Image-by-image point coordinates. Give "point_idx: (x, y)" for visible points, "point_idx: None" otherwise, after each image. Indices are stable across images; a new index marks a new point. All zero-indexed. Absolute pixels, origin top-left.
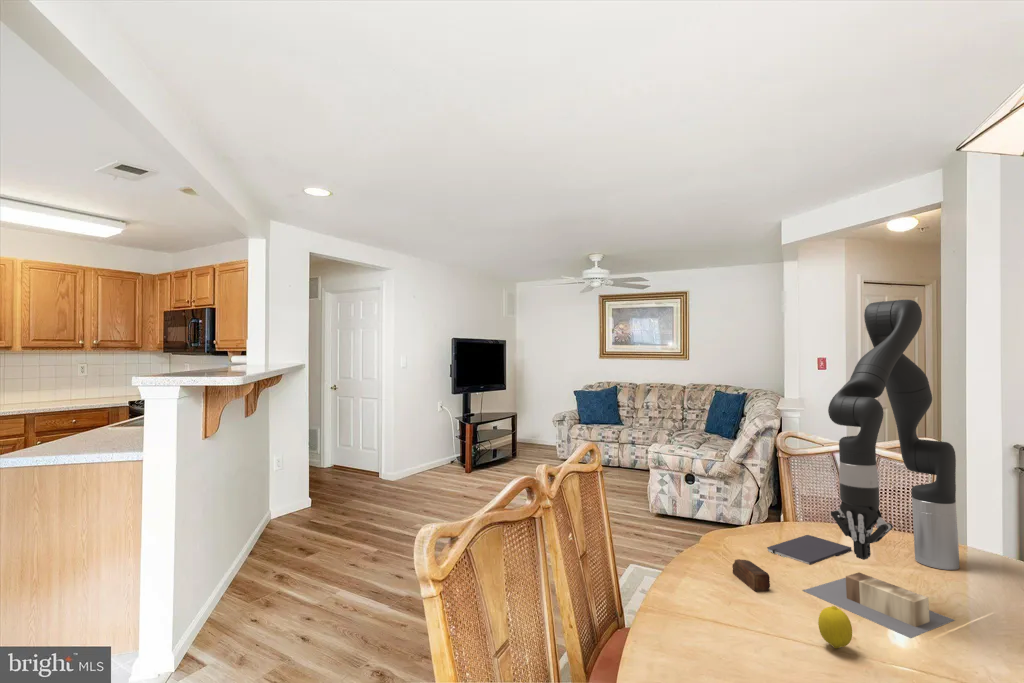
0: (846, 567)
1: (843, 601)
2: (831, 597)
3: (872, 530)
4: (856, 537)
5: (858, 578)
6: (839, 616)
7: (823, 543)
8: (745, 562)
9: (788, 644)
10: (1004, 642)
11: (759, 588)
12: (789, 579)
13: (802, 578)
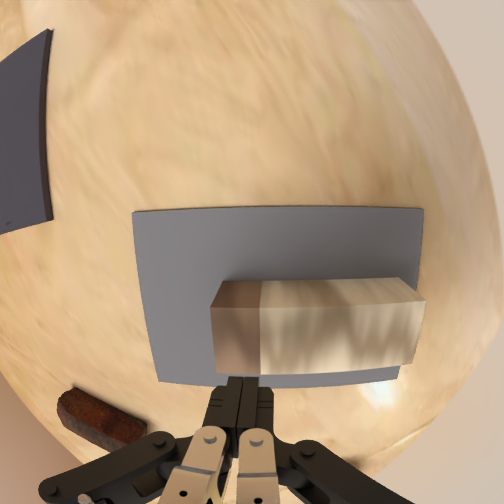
0: (87, 126)
1: None
2: (209, 363)
3: (276, 480)
4: (228, 478)
5: (245, 357)
6: None
7: (9, 77)
8: (77, 428)
9: (289, 495)
10: (488, 219)
11: None
12: (99, 341)
13: (100, 310)
